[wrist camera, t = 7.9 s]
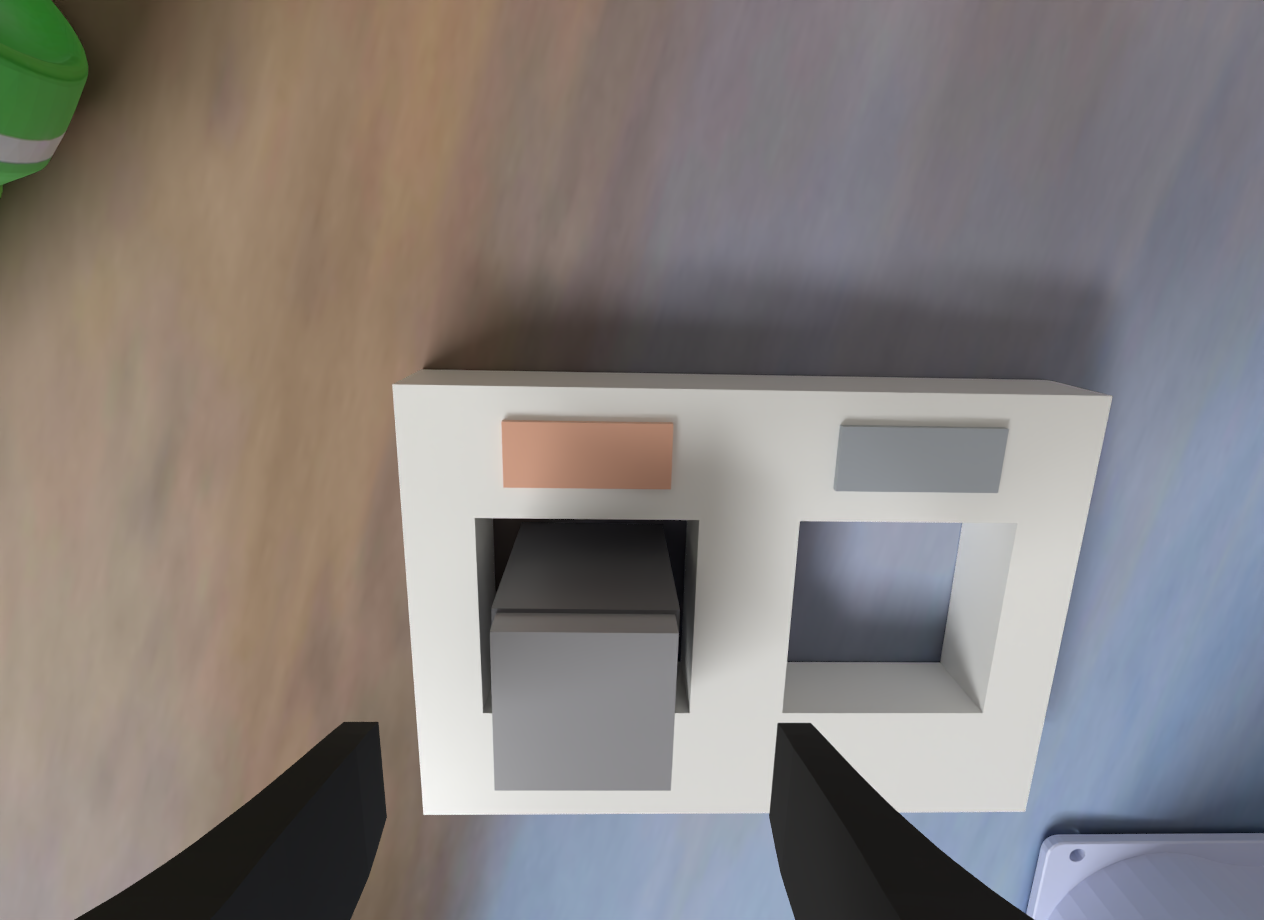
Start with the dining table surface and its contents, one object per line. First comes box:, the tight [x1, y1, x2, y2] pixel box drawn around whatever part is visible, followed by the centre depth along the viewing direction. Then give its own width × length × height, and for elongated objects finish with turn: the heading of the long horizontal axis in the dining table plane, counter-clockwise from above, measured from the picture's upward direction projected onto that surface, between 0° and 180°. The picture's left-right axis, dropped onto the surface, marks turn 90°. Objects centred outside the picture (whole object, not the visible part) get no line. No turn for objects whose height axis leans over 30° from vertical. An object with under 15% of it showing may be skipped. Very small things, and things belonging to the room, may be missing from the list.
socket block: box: [392, 369, 1113, 815], centre depth 19 cm, size 17×12×3 cm
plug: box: [490, 522, 680, 791], centre depth 17 cm, size 4×4×6 cm
